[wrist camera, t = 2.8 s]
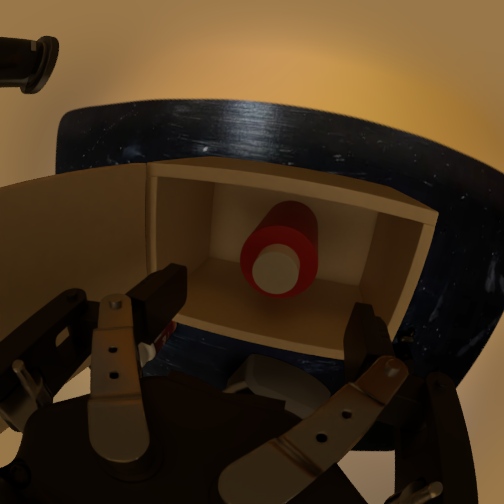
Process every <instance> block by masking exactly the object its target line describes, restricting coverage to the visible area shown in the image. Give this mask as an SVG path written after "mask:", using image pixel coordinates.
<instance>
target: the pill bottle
mask: <svg viewBox="0 0 504 504" xmlns="http://www.w3.org/2000/svg"><path fill="white" fill-rule="evenodd" d="M176 326H177V322H175V321H172V320H171V322H170V323H169V324H168V325H167V326H166V328H165V329H164V330H163V331H162V332H161V334H160V335H159V336H158V337H157V338H156V340H155V341H154V342H153V343H152V344H151V346H150V345H147V344H145V343H142V342H141V343H140V344H139V345H138V347H139V353H140V360H141V366H142V367H143V366H144V365H145V363H146V362H147V361H150V360H152V359H153V358H154V357H155V356H156V354H157V353H158V352H159V350H160V349H161V348H162V346H163V345H164V344H165V342H166V341H167V340H168V339H169V337H170V336H171V334H172V333H173V332H174V330H175V329H176Z"/></svg>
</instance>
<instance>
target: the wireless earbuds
mask: <svg viewBox="0 0 504 504" xmlns="http://www.w3.org/2000/svg"><path fill="white" fill-rule="evenodd" d="M410 332H411V333H406V334H400V335H399V336H398V338H397V340H398V342H399V343H401V344H400V345H396V346H393V349H394V352H395V356H396V357H397V358H399V359H400V360H402V361H403V362H404V363H405V364H406V366H407V368H408V372H409V373H408V374H410V375H411V374H413V372H414V360H413V357H412V354H411V351H410V348H409V346H408V343H413V340H414V337H413V334H414V335H415V329H412V330H410Z"/></svg>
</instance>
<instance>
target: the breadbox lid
mask: <svg viewBox="0 0 504 504" xmlns="http://www.w3.org/2000/svg"><path fill="white" fill-rule="evenodd" d="M145 190H146V164H145V163H131V164H122V165H114V166H106V167H99V168H92V169H85V170H79V171H73V172H68V173H62V174H57V175H52V176H48V177H42V178H37V179H33V180H28V181H24V182H20V183H16V184H12V185H8V186H5V187H1V188H0V342H1V341H2V340H3V339H4V338H5V337H6V336H8V335H9V334H10V333H11V332H12V331H13V330H15V329H16V328H17V327H18V326H19V325H21V324H22V323H23V322H24V321H26V320H27V319H28V318H29V317H31V316H32V315H33V314H34V313H36V312H37V311H38V310H39V309H41V308H42V307H43V306H45V305H46V304H47V303H48V302H50V301H51V300H52V299H54V298H55V297H56V296H58V295H59V294H60V293H62V292H63V291H65V290H68V289H72V288H79V289H82V290H84V291H85V292H86V296H87V300H89V301H97V302H100V301H101V300H102V298H104V297H105V296H107V295H110V294H116V293H119V294H126V293H127V292H128V291H129V290H131V289H132V288H133V287H134V286H135V285H137V284H138V283H140V281H142V280H143V279H145V278H146V277H147V265H146V240H145ZM68 336H69V333H68V330H67V327H66V328H65V329H64V330H63V331H62V332H61V333H60V334H59V335H58V336H57V338H56V346H59V345H60V344H61V343H62V342H63V341H64V340H65V339H66V338H67V337H68ZM89 365H91V355H90V356H89V357H88V358H87V359H86V360H85V361H84V362H83V364H82V365H81V366H80V367H79V368H78V369H77V370H76V372H75V373H74V374H73V375H72V376H71V377H70V378H69V380H68V381H70V380H71V379H72V378H73V377H75V376H76V375H77V374H79V373H80V372H81V371H83V370H84V369H85V368H86V367H88V366H89ZM68 381H67V382H68ZM67 382H66V383H67ZM8 427H9V426H8V424H7V423H6V422H5V421H4V420H3V419H2V418H1V417H0V433H2V432H3V431H4V430H6V429H7V428H8Z"/></svg>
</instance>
